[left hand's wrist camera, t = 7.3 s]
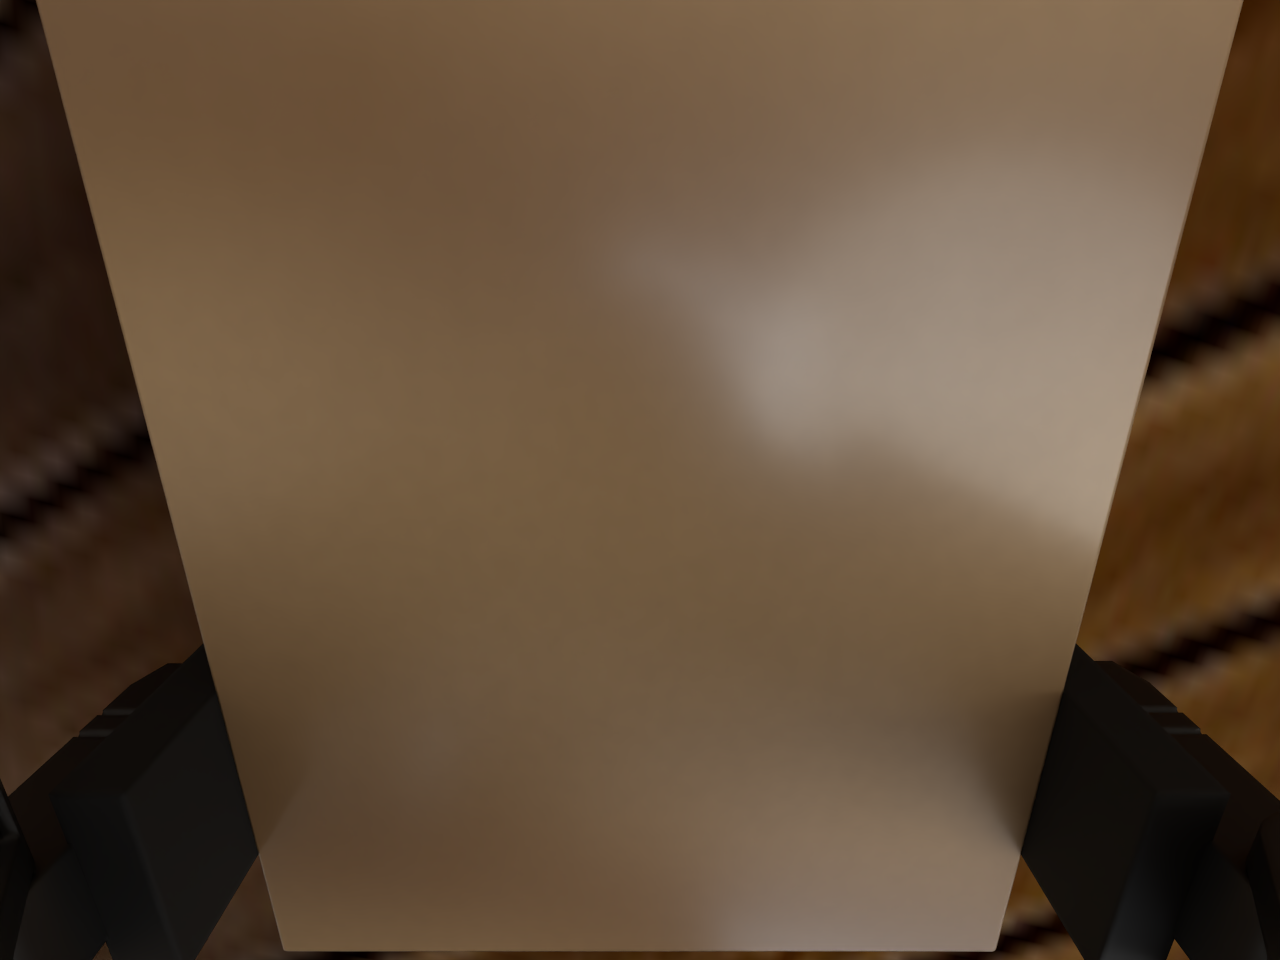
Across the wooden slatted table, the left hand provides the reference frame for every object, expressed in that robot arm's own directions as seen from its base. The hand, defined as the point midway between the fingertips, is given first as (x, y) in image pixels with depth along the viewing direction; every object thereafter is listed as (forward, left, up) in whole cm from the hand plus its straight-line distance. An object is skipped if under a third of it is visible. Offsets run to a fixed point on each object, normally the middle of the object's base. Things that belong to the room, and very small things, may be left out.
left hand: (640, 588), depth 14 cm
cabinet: (+4, +7, -4) cm, 8 cm away
